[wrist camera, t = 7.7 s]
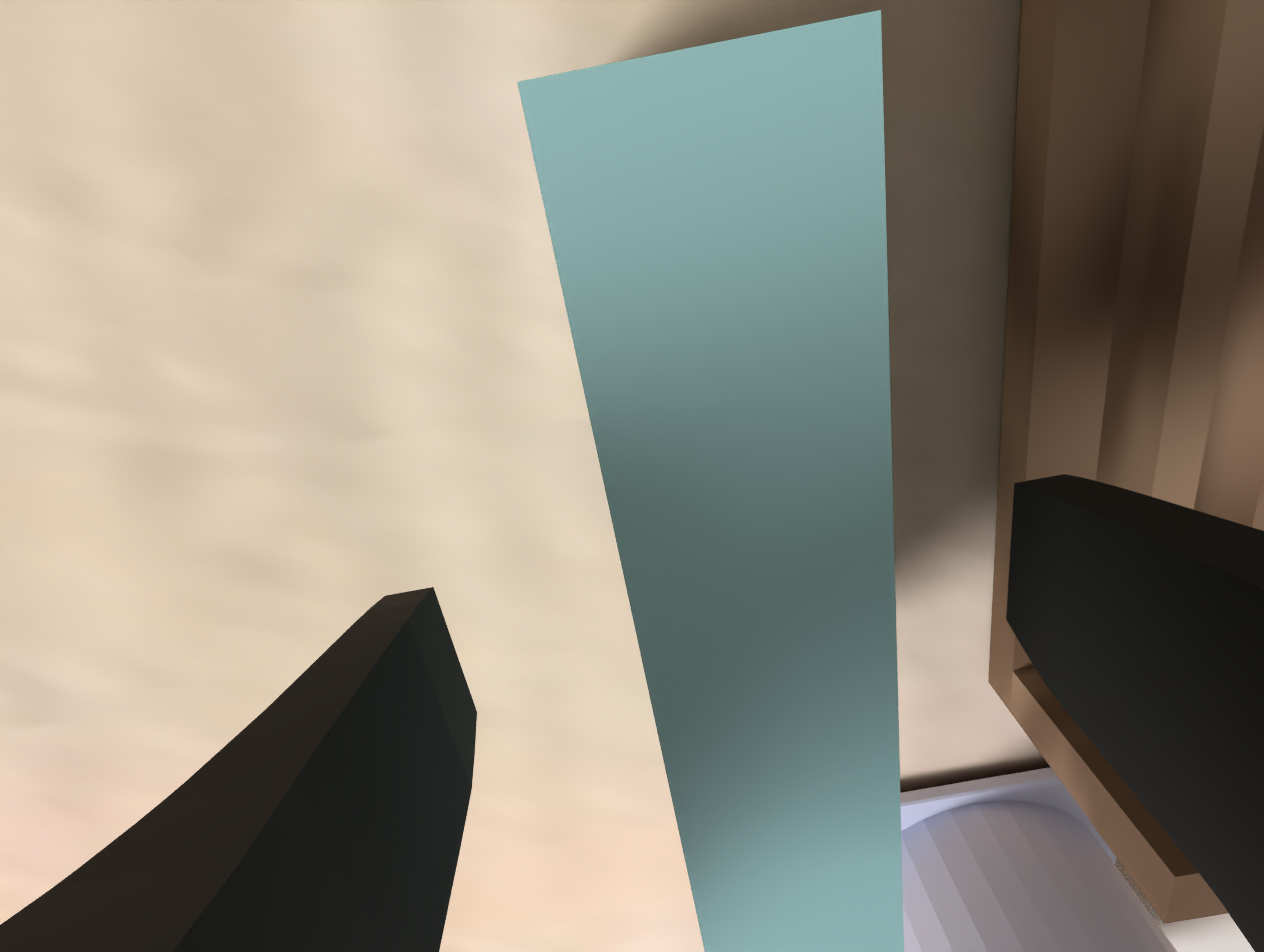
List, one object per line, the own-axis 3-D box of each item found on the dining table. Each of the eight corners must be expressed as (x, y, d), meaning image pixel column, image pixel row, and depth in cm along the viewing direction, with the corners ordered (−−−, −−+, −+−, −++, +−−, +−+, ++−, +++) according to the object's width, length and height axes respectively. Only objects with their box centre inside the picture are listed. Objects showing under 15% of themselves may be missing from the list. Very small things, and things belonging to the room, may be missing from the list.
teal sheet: (756, 659, 17) (907, 1132, 9) (672, 674, 17) (749, 1157, 9) (682, 91, 12) (880, 9, 4) (563, 114, 12) (518, 81, 4)
